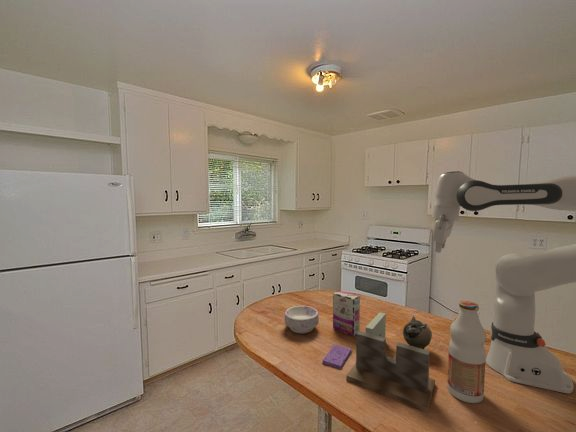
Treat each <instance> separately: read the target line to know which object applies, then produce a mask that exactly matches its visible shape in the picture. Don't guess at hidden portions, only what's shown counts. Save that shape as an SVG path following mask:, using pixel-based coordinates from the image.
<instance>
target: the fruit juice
mask: <svg viewBox="0 0 576 432" xmlns="http://www.w3.org/2000/svg"><path fill="white" fill-rule="evenodd" d="M458 308H459V312H458V315H457V316H456V319H455V320H454V321H453V322H451V324H450V327H449V332H450V333H449V334H450V337H451V339H450V341H449V343H448V357H447V358H448V359H447V361H448V362H447V379H446V381H447V382H446V383H447V390H448V391H449V393H450V394H451V395H452V396H453V397H455V398H456V399H457V400H460V401H462V402H464V403H467V404H478V403H481V402H482V401H483V400H484V396H485V378H486V377H485V376H486V375H485V374H486V357H487V355H486V349H485V347H484V346H485V343H486V340H487V333H486V331H485V330H486V329H484V327H483V326H482V324H481V321H480V318H479V314H478V312H479V309H480V308H479V304H478V303H476V302H475V301H474V302H473V301H470V300H469V301H468V300H461V301H459V303H458Z"/></svg>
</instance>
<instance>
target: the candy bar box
mask: <svg viewBox="0 0 576 432" xmlns="http://www.w3.org/2000/svg"><path fill="white" fill-rule="evenodd" d="M360 302H361V301H360V295H355V294H353V293H349V292H345V291H341V290H338V291H336V292H335V291H334V292H332V328H333V329H335V330H337V331H339V332H341V333H344V334H347V335H349V336H351V337H355V336H357V333H358V332H359V331H360V309H361V307H360V305H361V304H360Z"/></svg>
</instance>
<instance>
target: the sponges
mask: <svg viewBox="0 0 576 432" xmlns="http://www.w3.org/2000/svg"><path fill="white" fill-rule="evenodd" d="M351 354H352V348H350V347H345V346H342V345H338V344H333V345H332V347H331V349H330V350H329V351H328V352H327V354H326V355H325V356H324V357H323V358H322V362H321V363H322V364H323V365H327V366H330V367H334V368H337V369H339V370H341V369H342V368H343V366H344V364H345V362H346V361H347V359H348V358H349V356H350V355H351Z"/></svg>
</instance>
